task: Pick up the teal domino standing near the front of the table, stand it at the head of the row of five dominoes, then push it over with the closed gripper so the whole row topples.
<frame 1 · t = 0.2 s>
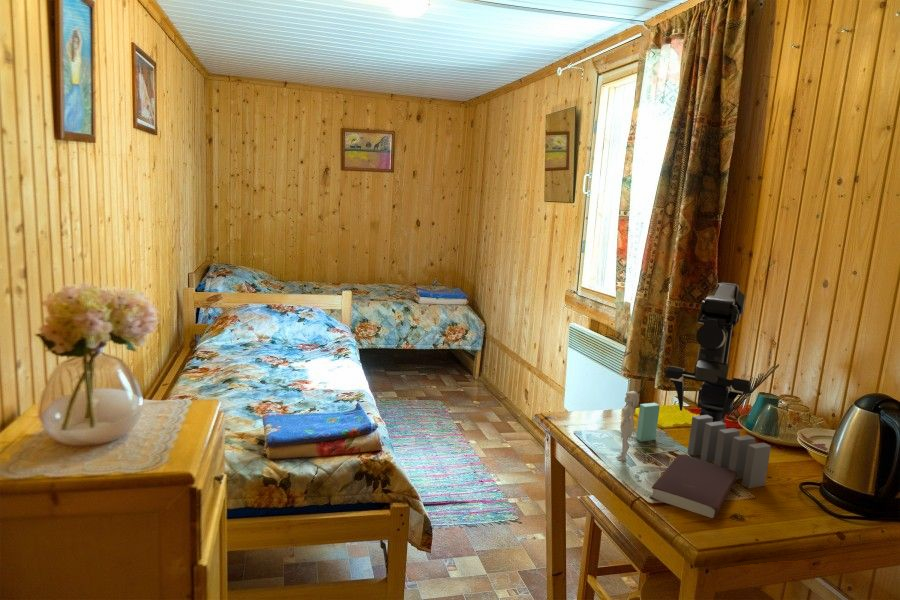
hand: (701, 414, 148), 15 cm above the table, tool pointing down, fingers open, 9 cm apart
domino 3: (710, 460, 160), on the table
domino head: (645, 439, 171), on the table
human figurine: (624, 460, 157), on the table
domino 4: (724, 468, 156), on the table
domino 2: (697, 452, 164), on the table
domino 6: (753, 484, 147), on the table
book: (693, 492, 143), on the table
domino 5: (738, 476, 152), on the table
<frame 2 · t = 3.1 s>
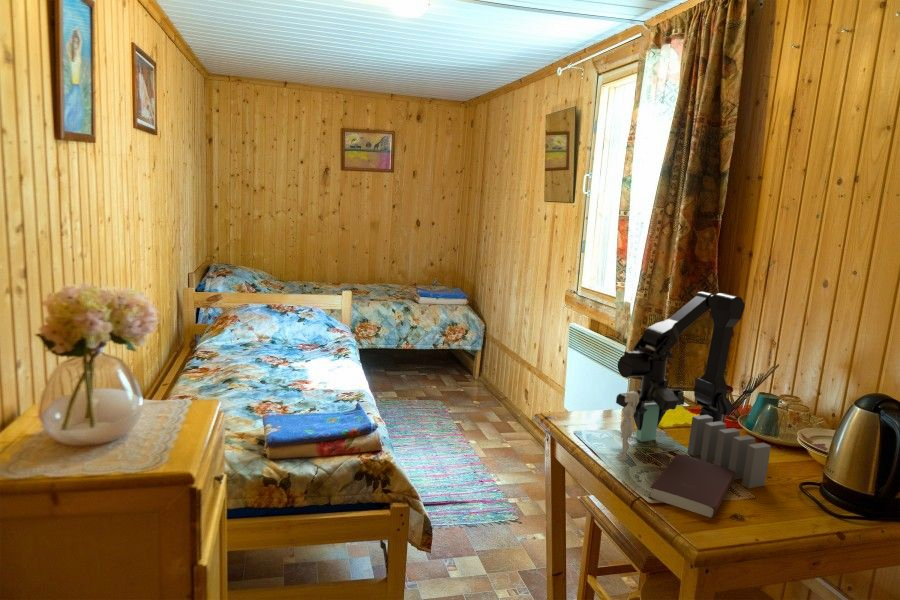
hand: (647, 428, 170), 3 cm above the table, tool pointing down, fingers closed on domino head, 5 cm apart
domino head: (645, 439, 171), on the table, touching gripper
when the fingers open (4 cm above the table, at t = 6.7 s): domino head stays where it is, on the table.
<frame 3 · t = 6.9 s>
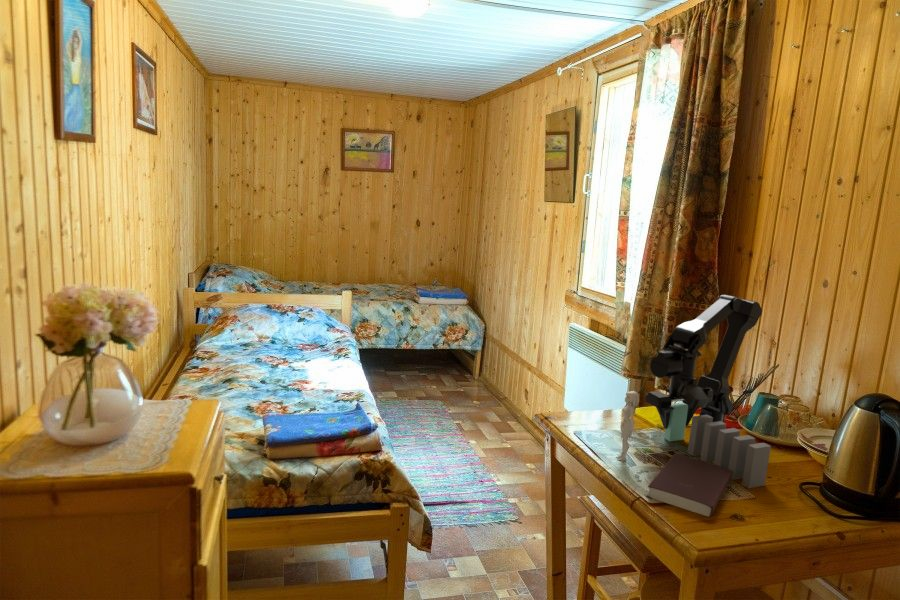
hand: (675, 427, 171), 4 cm above the table, tool pointing down, fingers open, 7 cm apart
domino head: (674, 439, 172), on the table
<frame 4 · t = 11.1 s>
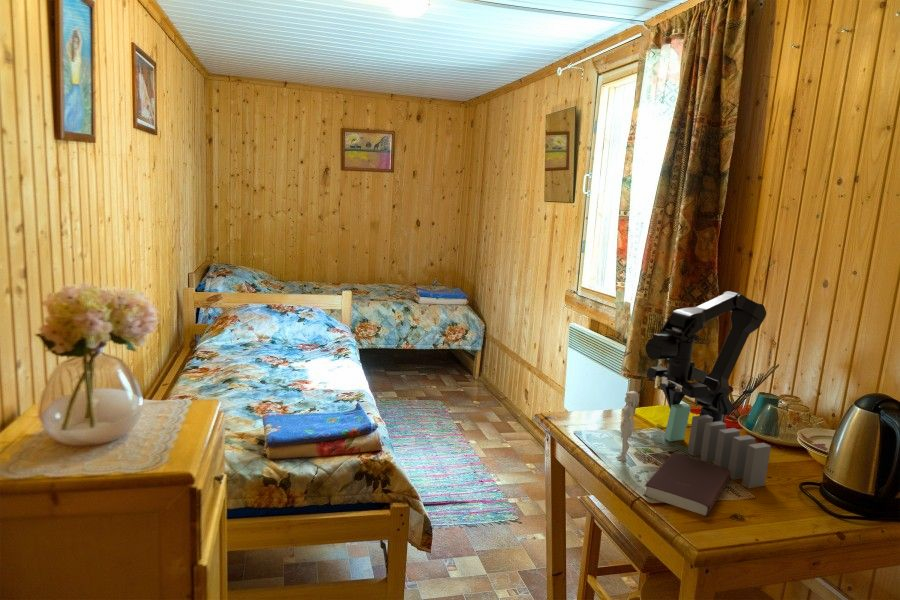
hand: (673, 411, 172), 8 cm above the table, tool pointing down, fingers closed
domino head: (674, 438, 172), on the table, tilted 6°
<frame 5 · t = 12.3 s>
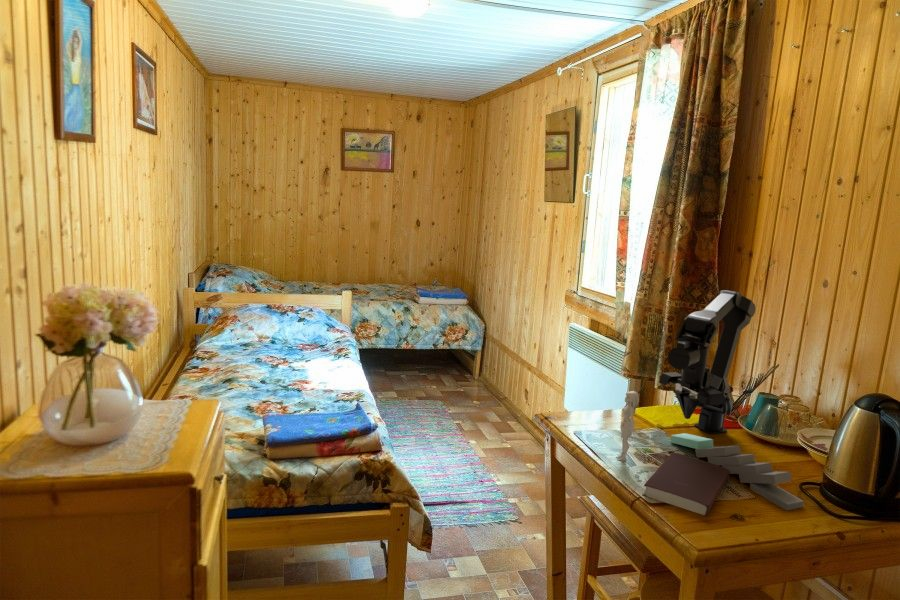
hand: (687, 418, 167), 8 cm above the table, tool pointing down, fingers closed
domino 3: (715, 459, 158), point 1 cm above the table, tilted 65°, touching domino 2, domino 4
domino head: (678, 437, 170), point 1 cm above the table, tilted 76°, touching domino 2
domino 4: (730, 468, 154), point 1 cm above the table, tilted 65°, touching domino 3, domino 5
domino 2: (703, 452, 162), point 1 cm above the table, tilted 63°, touching domino 3, domino head
domino 6: (758, 485, 146), on the table, tilted 90°, touching domino 5
domino 5: (747, 476, 149), point 1 cm above the table, tilted 65°, touching domino 4, domino 6
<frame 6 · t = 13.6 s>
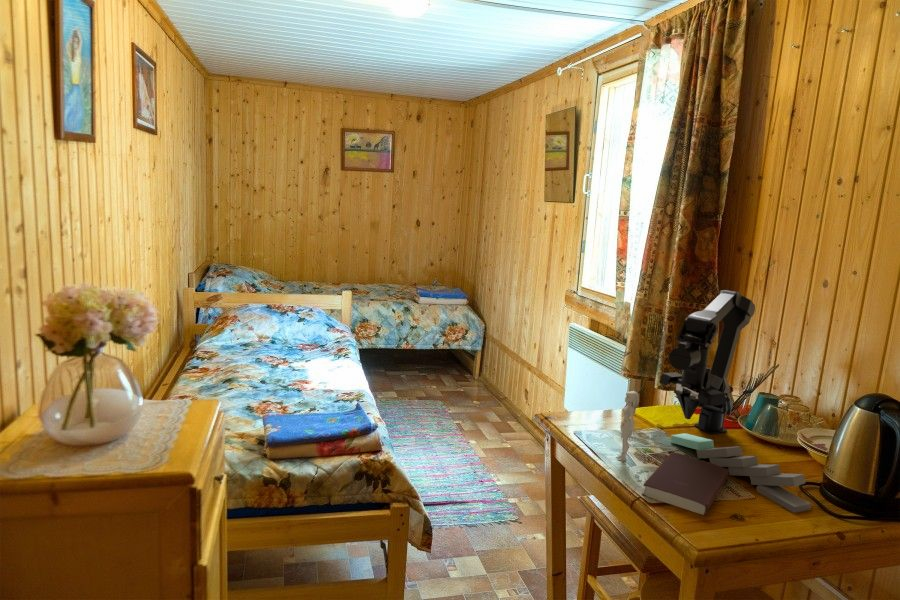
hand: (687, 418, 167), 7 cm above the table, tool pointing down, fingers closed
domino 4: (735, 469, 153), point 1 cm above the table, tilted 67°, touching domino 3, domino 5
domino 2: (704, 453, 162), point 1 cm above the table, tilted 63°, touching domino 3, domino head
domino 6: (764, 488, 145), on the table, tilted 90°
domino 5: (756, 478, 148), point 1 cm above the table, tilted 68°, touching domino 4
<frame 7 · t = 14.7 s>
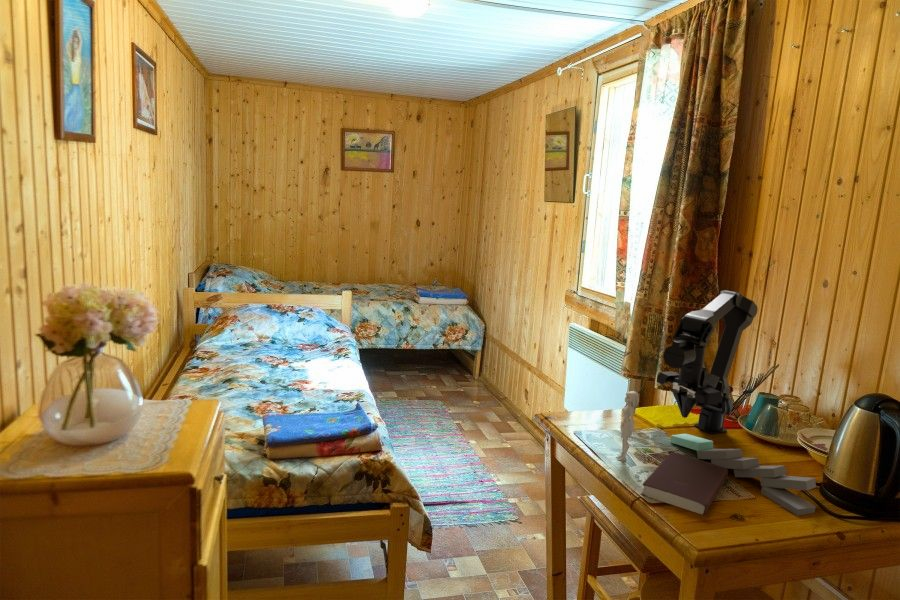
hand: (684, 417, 168), 7 cm above the table, tool pointing down, fingers closed
domino 4: (740, 471, 152), point 1 cm above the table, tilted 66°, touching domino 3, domino 5
domino 6: (769, 490, 144), on the table, tilted 90°, touching domino 5
domino 5: (765, 480, 146), point 2 cm above the table, tilted 72°, touching domino 4, domino 6
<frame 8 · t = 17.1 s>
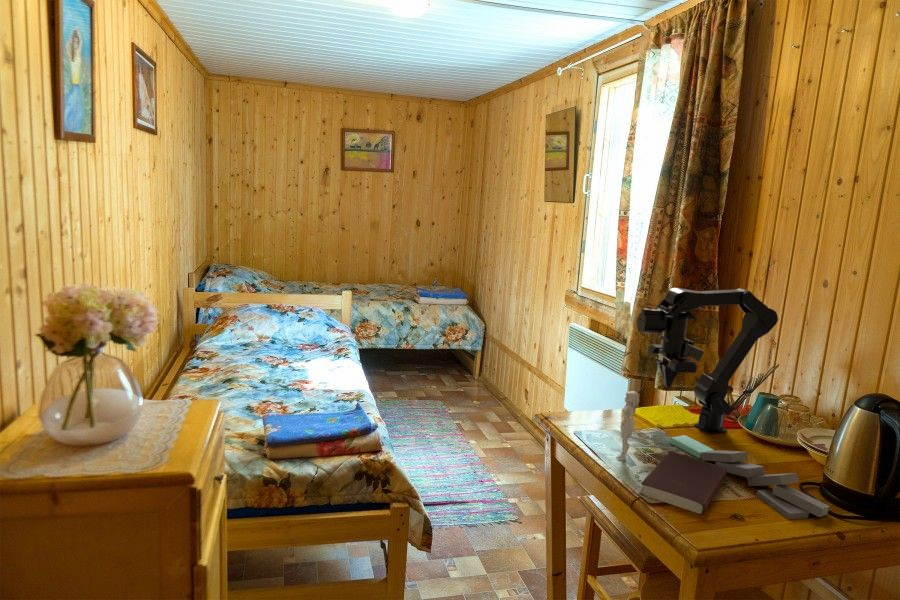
hand: (667, 387, 177), 12 cm above the table, tool pointing down, fingers closed
domino 3: (723, 464, 156), point 1 cm above the table, tilted 75°, touching domino 2
domino head: (677, 439, 170), point 1 cm above the table, tilted 90°
domino 4: (756, 480, 148), point 1 cm above the table, tilted 61°, touching domino 5
domino 2: (709, 455, 160), point 1 cm above the table, tilted 68°, touching domino 3
domino 6: (765, 493, 143), on the table, tilted 90°, touching domino 5
domino 5: (777, 488, 141), point 3 cm above the table, tilted 96°, touching domino 4, domino 6
at the end: domino 6 tilted 90°; domino head tilted 90°; domino head inside the target area (2.4 cm from its centre), point 0.5 cm above the table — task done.
